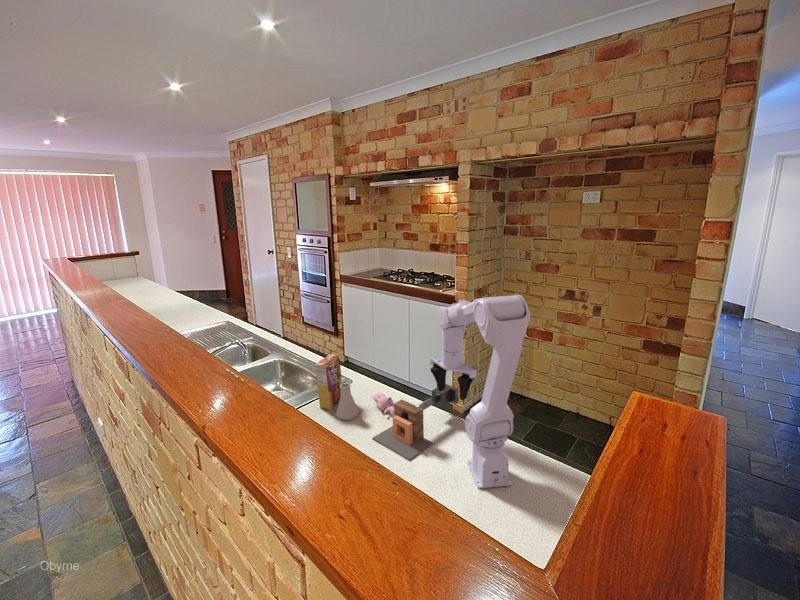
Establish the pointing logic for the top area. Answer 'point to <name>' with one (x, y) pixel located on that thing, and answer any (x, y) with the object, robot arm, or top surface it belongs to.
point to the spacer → (397, 432)
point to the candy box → (329, 381)
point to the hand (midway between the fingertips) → (452, 394)
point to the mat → (401, 444)
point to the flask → (346, 404)
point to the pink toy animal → (384, 403)
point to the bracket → (411, 418)
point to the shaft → (441, 397)
